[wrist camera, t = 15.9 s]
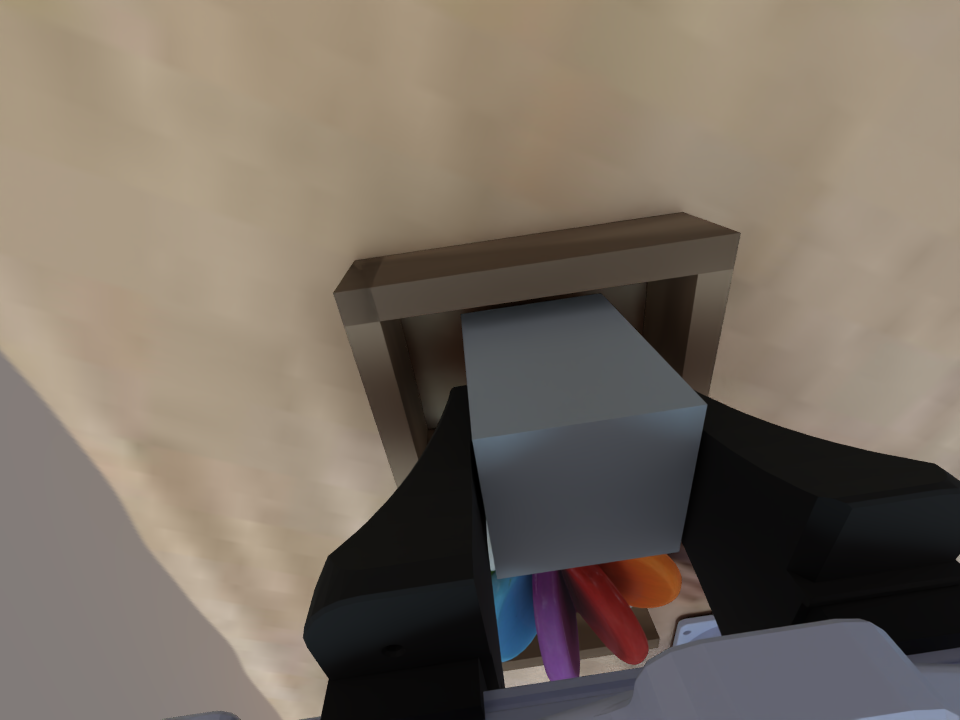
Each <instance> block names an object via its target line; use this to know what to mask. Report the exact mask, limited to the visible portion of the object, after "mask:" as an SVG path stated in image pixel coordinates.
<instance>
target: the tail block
mask: <svg viewBox="0 0 960 720" xmlns="http://www.w3.org/2000/svg"><path fill="white" fill-rule="evenodd" d="M461 321H462V332H463V343H464V355H465V366H466V377H467V388H468V399H469V410H470V421H471V432H472V442H473V447H474V453H475V458H476V464H477V469H478V475H479V481H480V486H481V492H482V497H483V503H484V508H485V514H486V520H487V525H488V531H489V536H490V542H491V547H492V553H493V558H494V564H495V570H496V575H497V579H502V578H509V577H516V576H522V575H529V574H535V573H542V572H549V571H555V570H562V569H568V568H575V567H582V566H588V565H595V564H602V563H608V562H615V561H621V560H628V559H635V558H641V557H648V556H654V555H661V554H668V553H674V552H679V549H680V544H681V538H682V533H683V528H684V523H685V518H686V513H687V507H688V502H689V497H690V492H691V487H692V482H693V477H694V471H695V466H696V461H697V456H698V451H699V446H700V440H701V435H702V430H703V425H704V420H705V415H706V409H707V404H706V403H705V401H704V400H703V399H702V398H701V397H700V396H699V395H698V394H697V393H696V392H695V391H694V390H693V389H692V388H691V387H690V386H689V385H688V384H687V383H686V382H685V381H684V380H683V378H682V377H681V376H680V375H679V374H678V373H677V372H676V371H675V370H674V369H673V368H672V367H671V366H670V365H669V364H668V363H667V362H666V361H665V360H664V359H663V358H662V357H661V356H660V354H659V353H658V352H657V351H656V350H655V349H654V348H653V347H652V346H651V345H650V344H649V343H648V342H647V341H646V340H645V339H644V338H643V337H642V336H641V335H640V334H639V333H638V331H637V330H636V329H635V328H634V327H633V326H632V325H631V324H630V323H629V322H628V321H627V320H626V319H625V318H624V317H623V316H622V315H621V314H620V313H619V312H618V311H617V310H616V308H615V307H614V306H613V305H612V304H611V303H610V302H609V301H608V300H607V299H606V298H605V297H604V296H603V295H602V294H601V293H599V294H592V295H586V296H579V297H572V298H566V299H559V300H552V301H545V302H539V303H532V304H525V305H519V306H512V307H505V308H498V309H492V310H485V311H478V312H472V313H465V314H461Z"/></svg>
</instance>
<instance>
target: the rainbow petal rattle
mask: <svg viewBox="0 0 960 720" xmlns="http://www.w3.org/2000/svg"><path fill="white" fill-rule="evenodd" d="M486 526H487V543H488V551H489V560H490V569H491V577H492V586H493V594H494V602H495V611H496V619H497V627H498V636H499V644H500V652H501V660H502V662H505V661H508V660H511V659H513V658H514V657H516V656H517V655H519V654H520V653H521V652H522V651H523V650H525V649H526V647H527V646H528V645H529V644H530V643H531V642H532V640H533V639H534V637H535V635H536V634H537V636H538V642H539V647H540V652H541V656H542V660H543V664H544V667H545V671H546V673H547V676H548V678H549V679H550V681H556V680H563V679H569V678H576V677H579V673H580V652H579V638H578V627H577V618H576V613H577V612H578V613H579V614H580V615H581V617H582V618H583V619H584V620H585V621H586V623H587V624H588V625H589V626H590V628H591V629H592V630H593V631H594V632H595V634H596V635H597V636H598V637H599V638H600V640H601V641H602V642H603V643H604V644H605V646H606V647H607V648H608V649H609V650H610V651H611V652H612V653H613V654H615V655H616V656H617V657H618V658H619V659H621V660H622V661H624V662H626V663H628V664H633V665H636V664H639V663H641V662H642V661H643V660H644V659H645V658H646V656H647V654H648V648H649V646H648V641H647V638H646V635H645V633H644V631H643V629H642V627H641V625H640V623H639V622H638V620H637V618H636V616H635V614H634V613H633V611H632V610H631V607H638V608H654V607H660V606H663V605H666V604H668V603H670V602H672V601H673V600H674V599H675V598H676V597H677V596H678V594H679V592H680V589H681V584H682V576H681V574H680V571H679V569H678V567H677V566H676V564H675V563H674V562H673V560H672V559H671V558H670V557H669V556H668V555H667V554H661V555H654V556H648V557H641V558H635V559H628V560H621V561H615V562H608V563H602V564H595V565H588V566H582V567H575V568H568V569H562V570H555V571H549V572H542V573H535V574H529V575H522V576H516V577H509V578H502V579H497V575H496V570H495V564H494V558H493V553H492V547H491V542H490V536H489V531H488V525H487V520H486Z"/></svg>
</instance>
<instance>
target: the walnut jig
mask: <svg viewBox="0 0 960 720" xmlns="http://www.w3.org/2000/svg"><path fill="white" fill-rule="evenodd" d="M740 234H741V233H740V232H737V231H734V230H731V229H729V228H726V227H723V226H720V225H717V224H715V223H712V222H709V221H706V220H703V219H701V218H698V217H695V216H692V215H690V214H687V213H684V212H681V213H675V214H668V215H661V216H654V217H647V218H641V219H634V220H627V221H620V222H614V223H607V224H600V225H593V226H586V227H580V228H573V229H566V230H559V231H553V232H546V233H539V234H532V235H525V236H519V237H512V238H505V239H498V240H492V241H485V242H478V243H471V244H464V245H458V246H451V247H444V248H437V249H430V250H424V251H417V252H410V253H403V254H397V255H390V256H383V257H376V258H369V259H363V260H356V261H354V262H353V264H352V265H351V267H350V268H349V270H348V271H347V273H346V274H345V276H344V277H343V279H342V280H341V282H340V283H339V285H338V287H337V288H336V290H335V291H334V293H333V294H334V297H335V300H336V303H337V306H338V309H339V312H340V315H341V318H342V321H343V324H344V328H345V331H346V334H347V337H348V340H349V343H350V346H351V349H352V352H353V355H354V358H355V361H356V364H357V367H358V370H359V373H360V376H361V379H362V382H363V385H364V388H365V391H366V394H367V397H368V400H369V403H370V406H371V410H372V413H373V416H374V419H375V422H376V425H377V428H378V431H379V434H380V437H381V440H382V443H383V446H384V449H385V452H386V455H387V458H388V461H389V464H390V467H391V470H392V473H393V476H394V479H395V482H396V485H397V488H398V487H399V486H400V485H401V483H402V482H403V481H404V479H405V478H406V477H407V476H408V474H409V473H410V471H411V470H412V468H413V467H414V466H415V464H416V463H417V461H418V460H419V458H420V456H421V455H422V453H423V452H424V450H425V448H426V446H427V444H428V443H429V441H430V439H431V437H432V435H433V433H434V432H435V430H436V429H432V430H428V429H427V425H426V421H425V417H424V413H423V409H422V405H421V401H420V397H419V393H418V389H417V385H416V381H415V377H414V373H413V369H412V365H411V361H410V357H409V353H408V349H407V345H406V341H405V337H404V333H403V329H402V325H401V321H400V318H407V317H413V316H420V315H427V314H434V313H440V312H447V311H454V310H461V309H467V308H474V307H481V306H488V305H494V304H501V303H508V302H514V301H521V300H528V299H535V298H541V297H548V296H555V295H562V294H568V293H575V292H582V291H589V290H595V289H602V288H609V287H616V286H622V285H629V284H636V283H643V282H647V294H646V305H645V316H644V327H643V338H644V339H645V340H646V341H647V342H648V343H649V344H650V345H651V346H652V347H653V348H654V349H655V350H656V351H657V352H658V353H659V354H660V356H661V357H662V358H663V359H664V360H665V361H666V362H667V363H668V364H669V365H670V366H671V367H672V368H673V369H674V370H675V371H676V372H677V373H678V374H679V375H680V376H681V377H682V378H683V380H684V381H685V382H686V383H687V384H688V385H689V386H690V387H691V388H692V389H693V390H695V391H697V392H699V393H701V394H703V395H705V396H707V397H708V394H709V389H710V384H711V379H712V374H713V369H714V364H715V359H716V354H717V349H718V344H719V339H720V334H721V329H722V324H723V319H724V314H725V309H726V304H727V299H728V294H729V289H730V284H731V279H732V274H733V269H734V264H735V259H736V254H737V249H738V244H739V239H740ZM631 610H632V611H633V613H634V614H635V616H636V618H637V620H638V622H639V623H640V625H641V627H642V629H643V631H644V633H645V635H646V638H647V641H648V646H649V648H648V649H653V648H658V645H659V640H660V638H659V635H658V633H657V631H656V628H655V626H654V624H653V621H652V619H651V617H650V614H649V612H648V609H647V608H638V607H631ZM576 618H577V627H578V638H579V652H580V660H581V659H587V658H594V657H600V656H607V655H613V653H612V652H611V651H610V650H609V649H608V648H607V647H606V646H605V644H604V643H603V642H602V641H601V640H600V638H599V637H598V636H597V635H596V634H595V632H594V631H593V630H592V629H591V628H590V626H589V625H588V624H587V623H586V621H585V620H584V619H583V618H582V617H581V615H580V614H579V613H578V612H577V613H576ZM541 665H544V664H543V660H542V656H541V652H540V647H539V642H538V636H537V634H536V635H535V637H534V639H533V640H532V642H531V643H530V644H529V645H528V646H527V647H526V649H525V650H523V651H522V652H521V653H520V654H519V655H517V656H516V657H514V658H513V659H511V660H508V661H505V662H502V668H503V671H509V670H515V669H522V668H528V667H535V666H541Z"/></svg>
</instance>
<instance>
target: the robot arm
mask: <svg viewBox="0 0 960 720" xmlns="http://www.w3.org/2000/svg"><path fill="white" fill-rule="evenodd" d="M694 391H695V390H694ZM695 392H696V393H697V394H698V395H699V396H700V397H701V398H702V399H703V400H704V401H705V403H706V404H707V409H706V415H705V420H704V425H703V430H702V435H701V440H700V446H699V451H698V456H697V461H696V466H695V471H694V477H693V482H692V487H691V492H690V497H689V502H688V507H687V513H686V518H685V523H684V528H683V533H682V538H681V541H682V543H683V546H684V548H685V550H686V552H687V554H688V557H689V559H690V561H691V563H692V566H693V568H694V570H695V572H696V575H697V577H698V579H699V582H700V584H701V586H702V589H703V591H704V594H705V596H706V598H707V601H708V603H709V606H710V608H711V610H712V613H713V615H707V616H700V617H694V618H687V619H683V620H681V621H679V623H678V625H677V630H676V634H675V638H674V642H673V647H670V648H668V649H666V650H665V651H663V652H661V653H660V654H658V655H656V656H654V657H653V658H651V659H649V660H648V661H647V662H646V664H645V665H644V667H641V668H635V669H628V670H622V671H615V672H608V673H602V674H595V675H589V676H582V677H576V678H569V679H563V680H556V681H549V682H543V683H536V684H530V685H523V686H517V687H510V688H505V684H504V676H503V668H502V660H501V652H500V644H499V636H498V627H497V619H496V611H495V602H494V594H493V586H492V577H491V569H490V560H489V551H488V543H487V526H486V514H485V508H484V503H483V497H482V492H481V486H480V481H479V475H478V469H477V464H476V458H475V453H474V447H473V442H472V432H471V421H470V410H469V399H468V388H467V385H464V386H458V387H453V388H452V390H451V391H450V395H449V398H448V401H447V404H446V407H445V409H444V412H443V414H442V416H441V419H440V421H439V423H438V425H437V427H436V430H435V432H434V433H433V435H432V437H431V439H430V441H429V443H428V444H427V446H426V448H425V450H424V452H423V453H422V455H421V456H420V458H419V460H418V461H417V463H416V464H415V466H414V467H413V468H412V470H411V471H410V473H409V474H408V476H407V477H406V478H405V479H404V481H403V482H402V483H401V485H400V486H399V487H398V488H397V490H396V491H395V492H394V493H393V495H392V496H391V497H390V498H389V499H388V500H387V502H386V503H385V504H384V505H383V506H382V507H381V508H380V509H379V510H378V511H377V512H376V513H375V514H374V515H373V516H372V517H371V518H370V520H369V521H368V522H367V523H366V524H364V525H363V526H362V527H361V528H360V529H359V530H358V531H357V532H356V533H355V534H353V535H352V536H351V537H350V538H349V539H348V540H346V541H345V542H344V543H343V544H342V545H341V546H340V547H338V548H337V549H336V550H335V551H334V552H332V553H331V554H330V555H329V556H328V557H327V560H326V562H325V565H324V567H323V570H322V572H321V575H320V577H319V580H318V582H317V585H316V587H315V590H314V594H313V597H312V601H311V605H310V608H309V612H308V615H307V619H306V623H305V626H304V634H303V639H304V641H305V643H306V646H307V648H308V649H309V651H310V652H311V654H312V655H313V657H314V658H315V659H316V661H317V662H318V664H319V665H320V667H321V668H322V670H323V671H324V673H325V674H326V675H327V677H328V678H329V681H328V685H327V690H326V695H325V700H324V705H323V709H322V714H321V716H320V717H314V718H307V719H301V720H960V563H959V562H958V561H956V560H955V559H956V558H957V557H958V556H959V554H960V481H959V480H958V479H956V478H955V477H954V476H952V475H951V474H949V473H948V472H946V471H945V470H944V469H942V468H941V467H939V466H938V465H936V464H934V463H928V462H923V461H918V460H913V459H908V458H903V457H897V456H892V455H887V454H882V453H877V452H872V451H867V450H863V449H859V448H855V447H851V446H847V445H843V444H839V443H835V442H831V441H827V440H824V439H820V438H816V437H813V436H809V435H806V434H803V433H800V432H797V431H793V430H790V429H787V428H784V427H781V426H778V425H775V424H772V423H769V422H766V421H764V420H761V419H759V418H756V417H753V416H751V415H748V414H746V413H743V412H740V411H738V410H736V409H733V408H731V407H729V406H727V405H724V404H722V403H720V402H718V401H716V400H714V399H711V398H709V397H707V396H705V395H703V394H701V393H699V392H697V391H695ZM162 720H241V719H240V718H239V717H238V716H236V715H234V714H232V713H229V712H224V711H212V712H205V713H199V714H192V715H186V716H180V717H173V718H166V719H162Z"/></svg>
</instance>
